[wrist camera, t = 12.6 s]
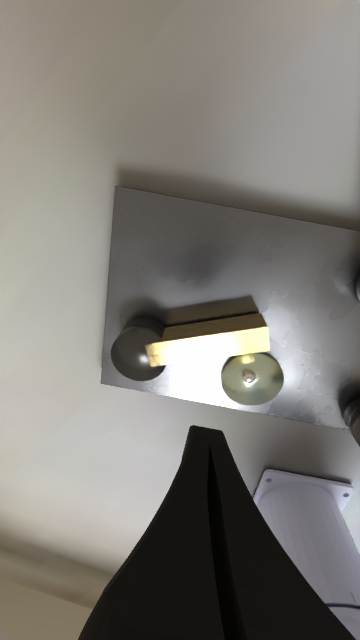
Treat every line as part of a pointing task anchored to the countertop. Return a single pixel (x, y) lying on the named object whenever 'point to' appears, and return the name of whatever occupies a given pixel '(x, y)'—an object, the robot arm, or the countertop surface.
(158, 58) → the countertop surface
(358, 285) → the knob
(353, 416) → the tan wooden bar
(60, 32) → the countertop surface
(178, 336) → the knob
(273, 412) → the levelling plate
